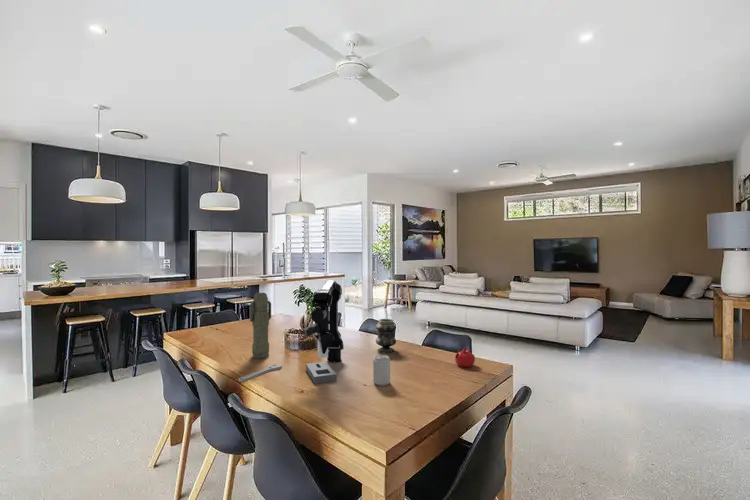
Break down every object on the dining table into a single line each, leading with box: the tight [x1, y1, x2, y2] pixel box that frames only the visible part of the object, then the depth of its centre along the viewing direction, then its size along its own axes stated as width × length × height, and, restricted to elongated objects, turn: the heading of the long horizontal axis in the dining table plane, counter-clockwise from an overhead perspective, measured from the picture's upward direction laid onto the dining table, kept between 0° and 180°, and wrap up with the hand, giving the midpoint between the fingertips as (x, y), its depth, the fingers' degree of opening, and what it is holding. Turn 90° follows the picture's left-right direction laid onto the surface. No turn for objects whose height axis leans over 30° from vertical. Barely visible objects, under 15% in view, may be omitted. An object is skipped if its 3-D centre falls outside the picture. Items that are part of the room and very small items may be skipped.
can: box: [372, 354, 391, 387], centre depth 166 cm, size 8×8×12 cm
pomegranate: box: [454, 347, 476, 368], centre depth 191 cm, size 10×10×9 cm
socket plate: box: [305, 361, 338, 385], centre depth 177 cm, size 10×20×3 cm, turn 21°
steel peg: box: [316, 338, 328, 359], centre depth 172 cm, size 4×4×8 cm
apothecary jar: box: [375, 318, 397, 353], centre depth 219 cm, size 12×12×18 cm
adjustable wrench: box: [238, 363, 283, 383], centre depth 179 cm, size 25×6×2 cm, turn 146°
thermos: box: [249, 292, 272, 360], centre depth 207 cm, size 9×12×35 cm
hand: (322, 352), depth 172 cm, fingers closed on steel peg, 4 cm apart
